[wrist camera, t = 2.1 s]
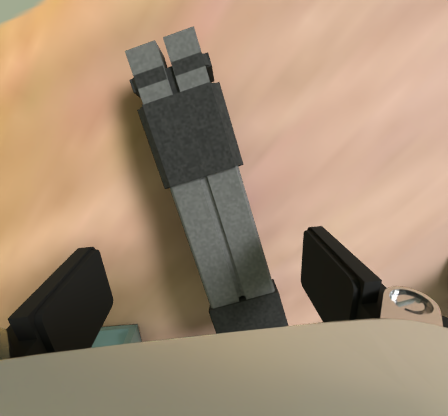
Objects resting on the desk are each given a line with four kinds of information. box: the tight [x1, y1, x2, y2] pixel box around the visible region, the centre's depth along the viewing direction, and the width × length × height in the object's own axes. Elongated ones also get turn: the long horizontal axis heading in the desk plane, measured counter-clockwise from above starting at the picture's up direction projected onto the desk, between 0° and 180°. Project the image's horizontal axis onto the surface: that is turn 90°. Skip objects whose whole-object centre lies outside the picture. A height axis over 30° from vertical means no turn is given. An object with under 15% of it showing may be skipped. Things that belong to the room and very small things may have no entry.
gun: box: [125, 26, 288, 334], centre depth 16 cm, size 4×20×10 cm, turn 17°
